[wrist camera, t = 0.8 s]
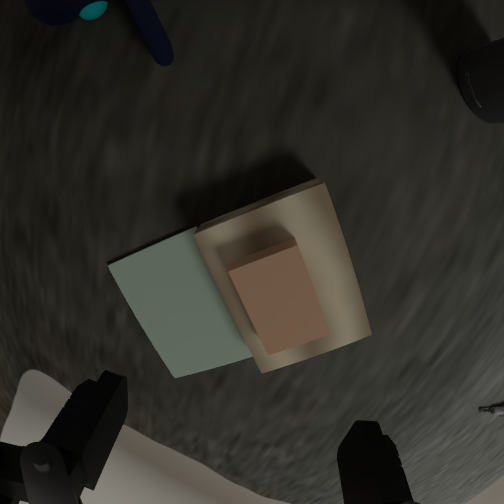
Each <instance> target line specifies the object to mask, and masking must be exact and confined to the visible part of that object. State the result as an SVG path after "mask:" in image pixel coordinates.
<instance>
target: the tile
mask: <svg viewBox="0 0 504 504" xmlns="http://www.w3.org/2000/svg"><path fill="white" fill-rule="evenodd" d="M228 272H229V275H230V277H231V279H232V281H233V283H234V285H235V287H236V290H237V292H238V294H239V296H240V298H241V300H242V302H243V304H244V306H245V309H246V311H247V313H248V315H249V317H250V319H251V321H252V323H253V325H254V327H255V329H256V331H257V334H258V336H259V338H260V340H261V342H262V344H263V346H264V348H265V350H266V352H267V354H268V355H271V354H274V353H278V352H281V351H284V350H287V349H290V348H293V347H295V346H298V345H301V344H304V343H307V342H310V341H313V340H315V339H318V338H321V337H324V336H326V335H329V334H330V332H329V329H328V326H327V323H326V320H325V318H324V315H323V312H322V309H321V306H320V304H319V301H318V298H317V295H316V292H315V290H314V287H313V284H312V281H311V279H310V276H309V273H308V271H307V268H306V265H305V263H304V260H303V257H302V255H301V252H300V249H299V247H298V244H297V241H296V239H295V238H292V239H290V240H287V241H285V242H282V243H279V244H277V245H274V246H272V247H269V248H266V249H264V250H261V251H259V252H256V253H253V254H251V255H248V256H245V257H243V258H240V259H238V260H235V261H232V262H230V266H229V270H228Z"/></svg>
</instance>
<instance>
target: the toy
mask: <svg viewBox="0 0 504 504" xmlns="http://www.w3.org/2000/svg"><path fill="white" fill-rule="evenodd" d="M24 1H25V3H26V6H27V9H28V10H29V12H30V14H31V15H32V16H34V17H35V18H36V19H38V20H40V21H42V22H44V23H47V24H49V25H59V26H60V25H63V24H66V23H68V22H71V21H73V20H75V19H77V18H79V17H81V18H82V19H85V20H94V19H97V18H98V17H100V16H101V15H102V14H103V13H104V12H105V10H106V8H107V4H108V2H107V1H109V0H24ZM125 2H126V4H127V6H128V8H129V10H130V12H131V14H132V16H133V18H134V21H135V23H136V25H137V27H138V29H139V31H140V33H141V35H142V37H143V40H144V42H145V44H146V46H147V48H148V50H149V52H150V53H151V55H152V57H153V58H154V60H155V61H156V63H158V64H159V65H161V66H167V65H170V64H171V63H172V62H173V60H174V53H173V49H172V45H171V43H170V40H169V38H168V36H167V34H166V32H165V30H164V28H163V26H162V24H161V22H160V20H159V18H158V16H157V14H156V11H155V9H154V7H153V5H152V3H151V1H150V0H125Z"/></svg>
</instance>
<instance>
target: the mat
mask: <svg viewBox="0 0 504 504" xmlns="http://www.w3.org/2000/svg"><path fill="white" fill-rule="evenodd" d="M197 229H198V228H197V226H196V227H193V228H191V229H188V230H186V231H184V232H181V233H179V234H177V235H174V236H172V237H170V238H168V239H165V240H163V241H161V242H158V243H156V244H154V245H152V246H149V247H147V248H145V249H143V250H140V251H138V252H136V253H134V254H131V255H129V256H127V257H125V258H123V259H120V260H118V261H116V262H114V263H112V264H109V265H108V267H109V269H110V271H111V273H112V275H113V277H114V278H115V280H116V282H117V284H118V286H119V288H120V290H121V291H122V293H123V295H124V297H125V299H126V300H127V302H128V304H129V306H130V307H131V309H132V311H133V313H134V314H135V316H136V318H137V319H138V321H139V323H140V324H141V326H142V328H143V329H144V331H145V333H146V334H147V336H148V338H149V339H150V341H151V342H152V344H153V346H154V347H155V349H156V350H157V352H158V353H159V355H160V357H161V358H162V360H163V361H164V363H165V364H166V366H167V367H168V369H169V370H170V372H171V373H172V375H173V376H174V378H178V377H182V376H186V375H190V374H193V373H197V372H201V371H205V370H208V369H212V368H215V367H219V366H223V365H226V364H229V363H233V362H236V361H240V360H243V359H246V358H249V357H253V356H252V354H251V352H250V350H249V348H248V346H247V344H246V342H245V340H244V338H243V336H242V334H241V332H240V330H239V328H238V326H237V324H236V322H235V320H234V318H233V316H232V314H231V312H230V310H229V308H228V306H227V304H226V302H225V300H224V298H223V296H222V294H221V292H220V290H219V288H218V286H217V284H216V282H215V280H214V278H213V276H212V274H211V272H210V270H209V268H208V265H207V263H206V261H205V259H204V257H203V255H202V253H201V251H200V249H199V246H198V244H197V242H196V240H195V238H194V236H193V234H194V233H195V232H196V230H197Z"/></svg>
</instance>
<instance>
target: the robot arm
mask: <svg viewBox="0 0 504 504" xmlns="http://www.w3.org/2000/svg"><path fill="white" fill-rule="evenodd" d="M458 81H459V85H460V89H461V92H462V94H463V97H464V99H465V101H466V102H467V104H468V106H469V107H470V108H471V110H472V111H473V112H474V113H475V114H476V115H477V116H478V117H479V118H481V119H482V120H484V121H486V122H489V123H504V38H501V39H498V40H495V41H492V42H489V43H486V44H483V45H480V46H477V47H474V48H472V49H469V50H467V51H466V52H465V53H464V54H463V55H462V56H461V58H460V60H459V64H458ZM127 411H128V389H127V377H126V376H123V375H120V374H117V373H114V372H111V371H108V370H105V371H104V372H103V373H102V375H101V376H100V378H99V379H98V381H97V382H96V381H93V380H90V379H88V380H86V381H85V382H83V383H82V384H80V385H78V386H77V387H76V389H75V390H74V392H73V393H72V395H71V396H70V399H68V401H67V402H66V404H65V406H64V407H63V408H62V410H61V411H60V413H59V414H58V416H57V417H56V419H55V420H54V422H53V423H52V425H51V427H50V428H49V430H48V431H47V433H46V434H45V436H44V437H43V439H41V441H39V442H33V443H30V444H28V445H27V446H17V445H12V444H8V443H4V442H0V504H19V501H24V502H28V503H29V504H83V503H82V501H81V498H80V496H81V493H82V491H83V489H84V487H86V488H89V489H91V490H94V489H95V486H96V484H97V482H98V479H99V477H100V475H101V473H102V470H103V468H104V466H105V463H106V461H107V459H108V457H109V454H110V452H111V450H112V447H113V445H114V443H115V441H116V439H117V436H118V434H119V432H120V430H121V428H122V425H123V423H124V421H125V418H126V415H127ZM337 462H338V468H339V474H340V480H341V486H342V492H343V499H344V504H420V503H418V502H414V501H413V498H412V495H411V492H410V489H409V485H408V482H407V479H406V476H405V473H404V470H403V467H402V463H401V460H400V458H399V454H398V451H397V448H396V445H395V444H394V443H393V441H392V440H391V439H390V438H389V436H388V435H383V434H382V431H381V428H380V425H379V423H378V422H377V421H363V420H357V421H355V422H354V424H353V425H352V427H351V429H350V430H349V432H348V433H347V435H346V436H345V438H344V439H343V441H342V442H341V444H340V446H339V448H338V452H337Z"/></svg>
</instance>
